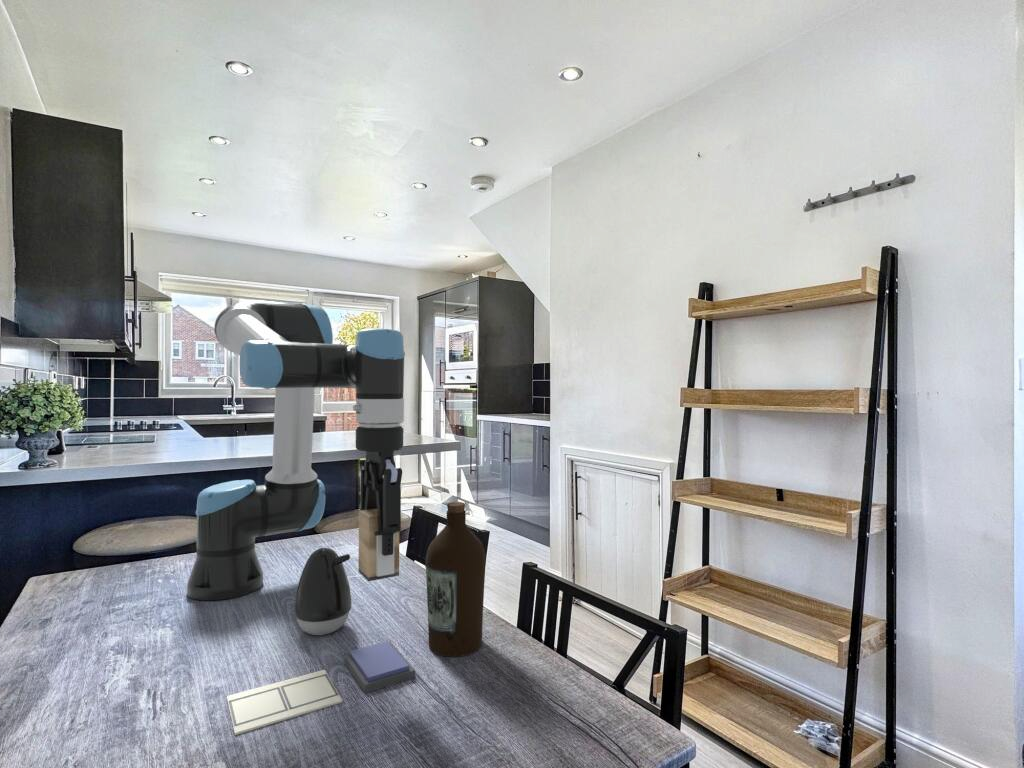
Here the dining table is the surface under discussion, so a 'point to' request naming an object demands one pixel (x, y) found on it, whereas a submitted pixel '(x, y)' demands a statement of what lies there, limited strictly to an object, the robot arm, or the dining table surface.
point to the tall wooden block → (372, 546)
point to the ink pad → (378, 666)
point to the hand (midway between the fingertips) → (379, 568)
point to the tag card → (281, 701)
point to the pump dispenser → (323, 593)
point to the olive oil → (455, 587)
